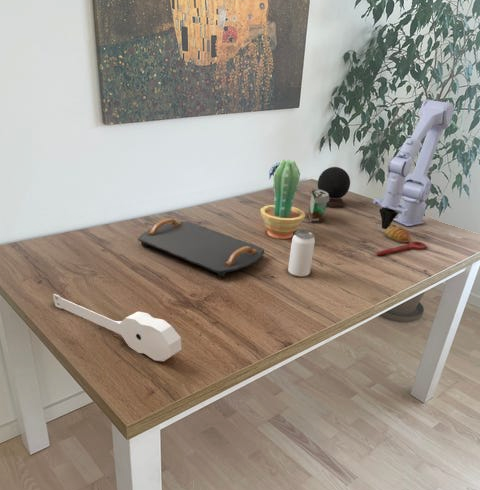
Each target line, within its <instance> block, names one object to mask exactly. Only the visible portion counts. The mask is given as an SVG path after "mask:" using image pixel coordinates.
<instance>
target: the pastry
mask: <svg viewBox="0 0 480 490" xmlns="http://www.w3.org/2000/svg"><path fill="white" fill-rule="evenodd" d="M384 234H385V236H386V237H388V239H392V240H393V241H395V242H398V243H408V242H410V240H411V236H410V234H409V233H408V231H406V229H405V228H403V227H401V226H398V225H396V224H390V226H389V227H388V228H387V229H385V230H384Z"/></svg>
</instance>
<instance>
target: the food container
mask: <svg viewBox="0 0 480 490" xmlns="http://www.w3.org/2000/svg"><path fill="white" fill-rule="evenodd" d="M328 201H329V194H328V193H327V192H325V191H323V190H319V189H318V188H313V187H312V188H311V192H310V200H309V208H308V217H309V221H310V223H312V224H316V223H317V224H318V223H322V222H323V220H324V216H325V212H326V208H327V207H326V204H327V202H328Z"/></svg>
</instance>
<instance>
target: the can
mask: <svg viewBox="0 0 480 490" xmlns="http://www.w3.org/2000/svg"><path fill="white" fill-rule="evenodd" d="M291 238H292V239H291V246H290V252H289V259H288V266H287V271H288V273H289V274H290V275H292V276H293V277H300V278H303V277H307V276H309V275H310V274H311V268H312V262H313V256H314V249H315V243H316V240H315V234H314V233H313V232H311V231H308V230H297V231H296V230H295V231H294V234H293V236H292V237H291Z"/></svg>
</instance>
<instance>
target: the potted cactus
mask: <svg viewBox="0 0 480 490" xmlns="http://www.w3.org/2000/svg"><path fill="white" fill-rule="evenodd" d="M272 176H273V178H272ZM300 177H301V172H300V169H299V167H298V165H297V163H296V162H295V160H290V159H287V160H286V159H282V161H277V162H275V163H274V164H272V166H271V167H270V168H269V171H268V180H271V178H272V179H273V180H272V188H273V193H274V201H273V204H270V205H264V206H263V207H261V208H260V214H261V215H260V216H261V218H263V220H264V225H265V227H266V229H267V235H268V236H269V237H271V238H274V239H279V240H286V239H291V238H293V236H294V233H295V232H296V230H297V229H298V228H299V226H300V224H301V223H302V221H304V220H305V217H306V214H305V211H304V210H302V209H300V208H297V207H295V206H293V203H294V199H295V195H296V192H297V191H298V187H299V183H300Z"/></svg>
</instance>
